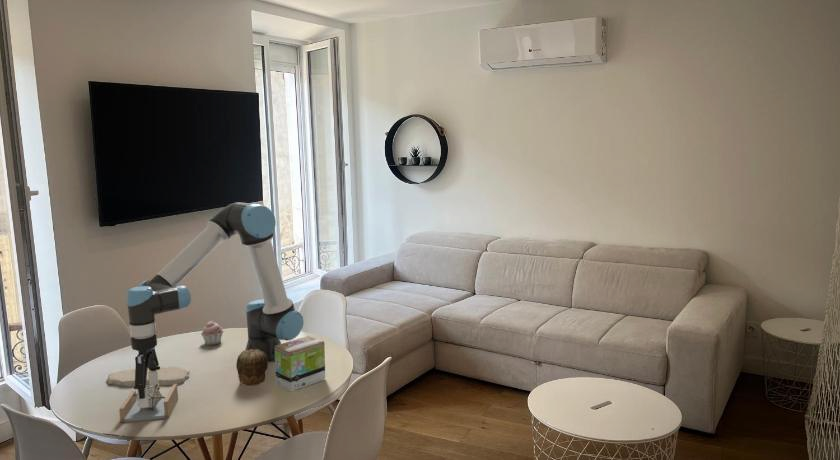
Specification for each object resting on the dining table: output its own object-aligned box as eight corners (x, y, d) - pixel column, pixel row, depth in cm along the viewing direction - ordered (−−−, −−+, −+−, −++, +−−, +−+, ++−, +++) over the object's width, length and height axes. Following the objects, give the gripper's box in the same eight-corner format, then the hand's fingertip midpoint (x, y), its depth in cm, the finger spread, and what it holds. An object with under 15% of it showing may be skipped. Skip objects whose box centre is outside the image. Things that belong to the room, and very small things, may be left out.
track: (178, 399, 211) (176, 384, 210) (169, 417, 198) (167, 401, 197) (133, 403, 209) (131, 387, 208) (120, 422, 195) (118, 405, 194)
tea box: (292, 392, 215) (290, 351, 212) (275, 385, 222) (272, 345, 219) (326, 379, 226) (324, 340, 223) (309, 372, 232) (307, 334, 230)
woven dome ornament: (241, 390, 217) (239, 357, 216) (234, 379, 227) (232, 348, 225) (272, 384, 222) (270, 352, 221) (264, 374, 232) (262, 343, 230)
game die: (146, 417, 204) (139, 388, 208) (171, 406, 205) (163, 378, 208) (133, 415, 196) (125, 385, 199) (159, 404, 197) (151, 374, 200)
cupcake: (229, 341, 269) (227, 319, 267) (210, 348, 262) (208, 325, 260) (216, 337, 275) (214, 315, 273) (197, 343, 267) (195, 321, 266)
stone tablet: (182, 386, 223) (182, 379, 223) (99, 388, 223) (98, 381, 223) (198, 369, 240) (197, 363, 239) (120, 370, 240) (119, 364, 239)
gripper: (141, 324, 211) (147, 384, 214) (119, 349, 186) (126, 416, 190) (164, 322, 212) (170, 382, 215) (145, 347, 188) (152, 413, 191)
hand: (149, 398), depth 202 cm, fingers open, 13 cm apart
